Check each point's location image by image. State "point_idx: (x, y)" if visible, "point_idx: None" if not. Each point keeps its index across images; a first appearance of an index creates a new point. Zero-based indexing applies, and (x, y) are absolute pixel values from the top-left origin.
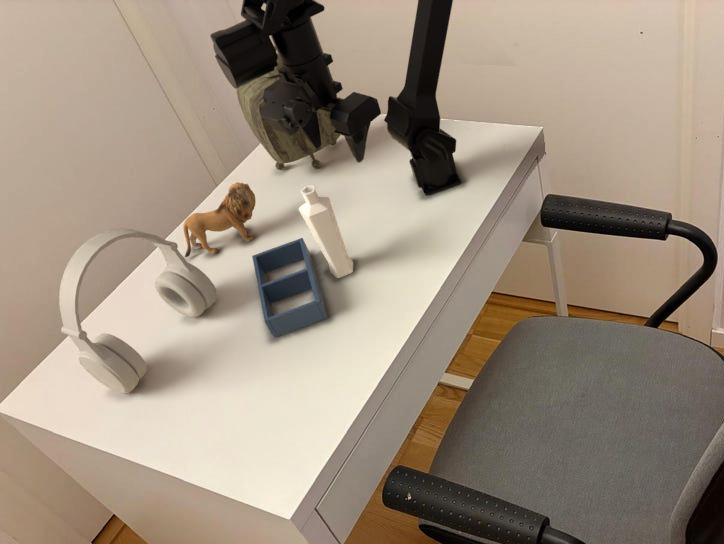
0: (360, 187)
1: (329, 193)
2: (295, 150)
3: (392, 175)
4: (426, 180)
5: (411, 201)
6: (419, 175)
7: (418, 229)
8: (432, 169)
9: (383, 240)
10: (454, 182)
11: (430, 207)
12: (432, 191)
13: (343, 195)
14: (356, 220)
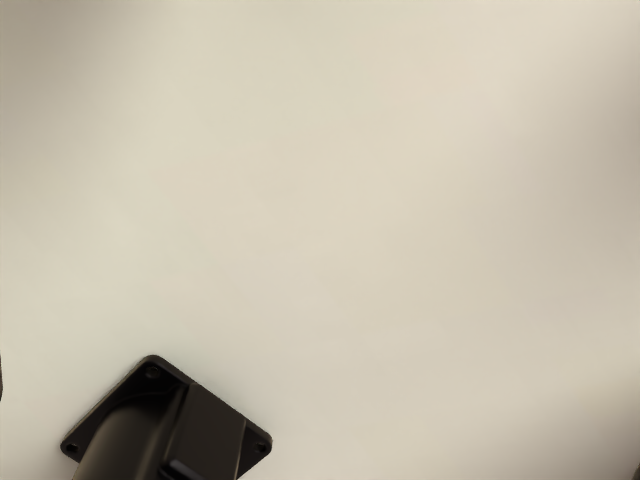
0: (491, 337)
1: (632, 272)
2: None
3: (383, 425)
4: (152, 417)
5: (197, 312)
6: (163, 431)
7: (36, 161)
8: (92, 469)
9: (147, 41)
10: (76, 435)
11: (88, 298)
12: (129, 376)
13: (550, 276)
14: (382, 137)
